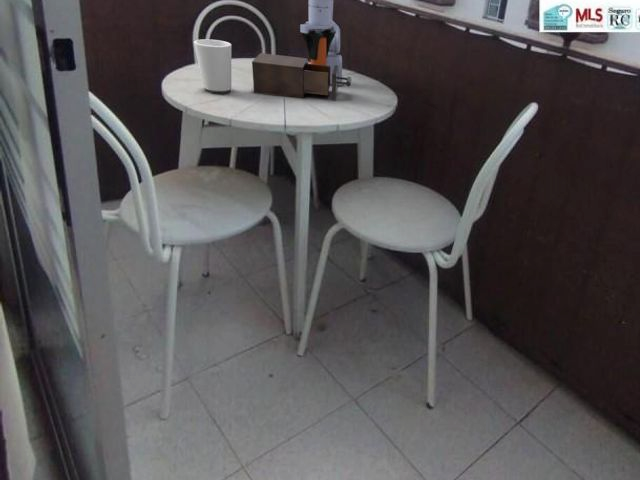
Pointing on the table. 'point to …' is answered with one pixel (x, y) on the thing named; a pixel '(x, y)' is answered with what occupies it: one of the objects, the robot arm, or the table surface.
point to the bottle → (320, 51)
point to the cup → (214, 64)
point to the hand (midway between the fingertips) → (318, 58)
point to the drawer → (321, 79)
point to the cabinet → (278, 75)
